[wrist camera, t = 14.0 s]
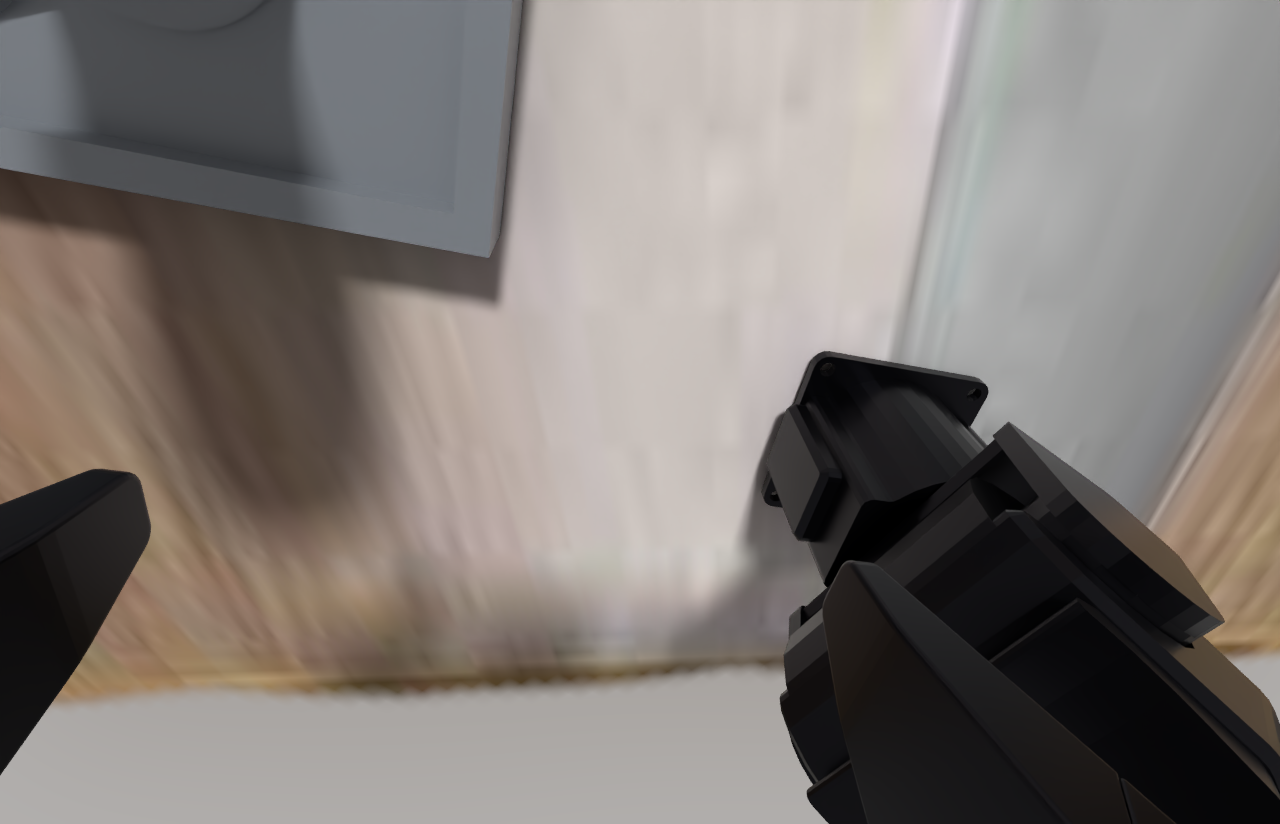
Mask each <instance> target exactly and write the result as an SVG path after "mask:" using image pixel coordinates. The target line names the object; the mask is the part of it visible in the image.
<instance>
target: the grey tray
mask: <svg viewBox="0 0 1280 824" xmlns="http://www.w3.org/2000/svg"><path fill="white" fill-rule="evenodd" d="M522 4H523V0H264V2H263V3H262V4H261V5H259V6H258V7H257V8H256V9H255V10H254V11H252V12H251V13H249V14H248V15H246V16H245V17H243V18H241V19H240V20H238V21H235V22H233V23H231V24H228V25H226V26H223V27H220V28H216V29H212V30H207V31H197V32H185V31H174V30H167V29H162V28H157V27H153V26H149V25H146V24H142V23H139V22H136V21H132V20H129V19H126V18H124V17H121V16H118V15H115V14H112V13H109V12H106V11H103V10H100V9H95V8H84V7H77V8H63V9H59V10H55V11H51V12H47V13H43V14H39V15H35V16H32V17H29V18H25V19H22V20H19V21H15V22H12V23H9V24H5V25H2V26H0V168H3V169H8V170H13V171H19V172H24V173H30V174H35V175H41V176H46V177H51V178H57V179H62V180H68V181H73V182H79V183H84V184H89V185H95V186H100V187H106V188H111V189H117V190H122V191H127V192H133V193H138V194H144V195H149V196H155V197H160V198H165V199H171V200H176V201H182V202H187V203H193V204H198V205H203V206H209V207H214V208H220V209H225V210H231V211H236V212H241V213H247V214H252V215H258V216H263V217H268V218H274V219H279V220H285V221H290V222H296V223H301V224H306V225H312V226H317V227H323V228H328V229H334V230H339V231H344V232H350V233H355V234H361V235H366V236H372V237H377V238H382V239H388V240H393V241H399V242H404V243H410V244H415V245H420V246H426V247H431V248H437V249H442V250H448V251H453V252H458V253H464V254H469V255H475V256H480V257H486V258H489V257H490V255H491V253H492V250H493V248H494V246H495V244H496V242H497V240H498V238H499V236H500V228H501V218H502V208H503V198H504V188H505V177H506V167H507V157H508V147H509V137H510V126H511V116H512V106H513V96H514V86H515V75H516V65H517V55H518V45H519V35H520V24H521V14H522Z"/></svg>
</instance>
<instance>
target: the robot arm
mask: <svg viewBox="0 0 1280 824" xmlns="http://www.w3.org/2000/svg"><path fill="white" fill-rule="evenodd" d="M826 363H832V365H831V367H830V368H829V369H828V370H826V371H821V367H822V366H823V365H825V364H826ZM972 389H975V391H974V392H973V393H972V394H970V395H967V394H968V393H969V391H971V390H972ZM987 395H988V387H987V386H986V385H985V384H984V383H983V382H982V381H981V380H980V379H978V378H976V377H972V376H966V375H960V374H955V373H949V372H943V371H938V370H932V369H926V368H921V367H915V366H909V365H904V364H898V363H892V362H887V361H881V360H875V359H870V358H864V357H858V356H853V355H847V354H841V353H836V352H830V351H824V352H821V353H818V354H817V355H816V356H815V357H814V358H813V359H812V361H811V363H810V365H809V368H808V370H807V373H806V375H805V378H804V381H803V383H802V386H801V388H800V391H799V394H798V396H797V399H796V401H795V404H792V405H791V406H790V407H789V408H787V410H786V412H785V415H784V418H783V420H782V423H781V426H780V428H779V431H778V433H777V436H776V439H775V441H774V444H773V446H772V449H771V452H770V454H769V457H768V460H767V467H768V469H769V471H768V474H767V476H766V479H765V481H764V484H763V487H762V491H761V492H762V495H763V498H764V501H765V503H767V504H768V505H770V506H775V507H782V508H783V509H784V512H785V514H786V517H787V519H788V522H789V525H790V527H791V530H792V533H793V534H794V536H795V537H796V538H797V540H798V541H806V542H808V545H809V547H810V550H811V552H812V555H813V557H814V560H815V562H816V565H817V567H818V570H819V572H820V575H821V577H822V580H823V582H824V584H825V586H826V587H828V588H826V589H825V590H824V591H823V592H822V593H821V594H820V595H819V596H817V597H816V598H815V599H814V600H813V601H812V602H811V603H809V604H808V605H807V606H806V607H805V606H801V607H800V608H799V609H797V610H796V611H795V612H794V613H793V614H792V615H791V616H790V618H789V641H788V644H787V647H786V650H785V653H784V666H785V678H786V686H787V690H786V691H785V692H783V693H782V694H781V696H780V705H781V711H782V714H783V717H784V720H785V723H786V725H787V728H788V731H789V734H790V738H791V742H792V744H793V747H794V749H795V752H796V754H797V757H798V759H799V761H800V763H801V765H802V767H803V769H804V770H805V772H806V774H807V776H808V777H809V779H810V781H811V782H812V783H813V786H811V787H810V788H809V789H808V790H807V797H808V800H809V802H810V803H811V805H813V807H814V808H815V809H816V810H817V811H818V812H819V814H820V815H821V816H822V817H823V818H824V819H825V820H826V821H827V822H828V823H829V824H1280V723H1279V720H1278V718H1277V715H1276V712H1275V710H1274V708H1273V707H1272V705H1271V703H1270V701H1269V699H1267V697H1266V696H1265V695H1264V694H1263V693H1262V692H1261V690H1260V689H1259V688H1258V687H1257V686H1256V685H1254V684H1253V683H1252V682H1251V681H1250V680H1249V679H1248V678H1247V677H1246V676H1245V675H1244V674H1243V673H1241V672H1240V671H1239V670H1238V669H1237V668H1236V667H1235V666H1234V665H1233V664H1232V663H1231V662H1230V661H1229V660H1228V659H1227V658H1226V657H1225V656H1224V655H1223V654H1222V653H1220V652H1219V651H1218V650H1217V649H1216V648H1215V647H1214V646H1213V645H1212V644H1211V643H1210V642H1209V641H1208V640H1207V639H1206V638H1204V637H1203V635H1205V634H1207V633H1208V632H1210V631H1211V630H1213V629H1215V628H1216V627H1218V626H1220V625H1221V624H1223V623H1224V622H1225V621H1224V618H1223V617H1222V615H1221V614H1220V612H1219V611H1218V610H1217V608H1216V607H1215V605H1214V604H1213V603H1212V601H1211V600H1210V598H1209V597H1208V596H1207V594H1206V593H1205V591H1204V590H1203V589H1202V587H1201V586H1200V584H1199V583H1198V582H1197V580H1196V579H1195V577H1194V576H1193V575H1192V573H1191V572H1190V570H1189V569H1188V568H1187V566H1186V565H1185V563H1184V562H1183V561H1182V559H1181V558H1180V557H1179V556H1178V555H1177V554H1176V553H1175V552H1174V551H1173V550H1172V549H1171V548H1170V547H1169V546H1168V545H1166V544H1165V543H1164V542H1163V541H1162V540H1161V539H1160V538H1158V537H1157V536H1156V535H1155V534H1154V533H1153V532H1152V531H1150V530H1149V529H1148V528H1147V527H1146V526H1145V525H1144V524H1142V523H1141V522H1140V521H1139V520H1138V519H1137V518H1136V517H1134V516H1133V515H1132V514H1131V513H1130V512H1129V511H1128V510H1126V509H1125V508H1124V507H1123V506H1122V505H1121V504H1120V503H1118V502H1117V501H1116V500H1115V499H1114V498H1113V497H1111V496H1110V495H1109V494H1108V493H1106V492H1105V491H1104V490H1102V489H1101V488H1100V487H1098V486H1097V485H1095V484H1094V483H1093V482H1091V481H1090V480H1089V479H1087V478H1086V477H1084V476H1083V475H1082V474H1080V473H1079V472H1078V471H1076V470H1075V469H1073V468H1072V467H1071V466H1069V465H1068V464H1067V463H1065V462H1064V461H1062V460H1061V459H1060V458H1058V457H1057V456H1056V455H1054V454H1053V453H1051V452H1050V451H1049V450H1047V449H1046V448H1045V447H1043V446H1042V445H1040V444H1039V443H1038V442H1036V441H1035V440H1034V439H1032V438H1031V437H1029V436H1028V435H1027V434H1025V433H1024V432H1023V431H1021V430H1020V429H1018V428H1017V427H1016V426H1014V425H1013V424H1012V423H1010V422H1008V423H1006V424H1005V425H1004V426H1003V427H1002V428H1001V429H1000V430H999V431H997V432H996V433H995V434H994V435H993V437H994V438H995V440H994V441H992V442H991V443H990V444H989V445H988V446H987V445H986V444H985V442H984V441H983V440H982V439H981V438H980V437H979V436H978V435H977V434H976V433H975V432H974V431H973V429H972V428H971V427H970V426H971V424H972V423H973V421H974V419H975V417H976V416H977V414H978V412H979V410H980V408H981V407H982V405H983V403H984V401H985V400H986V398H987ZM775 491H777V493H778V494H776V495H771V494H772V493H773V492H775ZM150 533H151V523H150V519H149V515H148V510H147V506H146V502H145V498H144V493H143V489H142V485H141V482H140V480H139V478H138V477H137V476H136V475H135V474H132V473H130V472H124V471H116V470H107V469H92V470H89V471H86V472H83V473H81V474H78V475H75V476H73V477H70V478H68V479H65V480H62V481H60V482H57V483H55V484H52V485H50V486H47V487H44V488H42V489H39V490H37V491H34V492H31V493H29V494H26V495H24V496H21V497H19V498H16V499H13V500H11V501H8V502H6V503H3V504H0V775H1V774H2V772H3V771H4V769H5V768H6V767H7V765H8V764H9V762H10V761H11V760H12V758H13V757H14V755H15V754H16V752H17V751H18V750H19V748H20V746H21V745H22V744H23V743H24V741H25V740H26V738H27V737H28V736H29V734H30V733H31V731H32V730H33V729H34V727H35V726H36V724H37V723H38V722H39V720H40V719H41V717H42V716H43V714H44V713H45V712H46V710H47V709H48V707H49V706H50V705H51V703H52V702H53V700H54V699H55V698H56V696H57V695H58V693H59V692H60V691H61V689H62V688H63V686H64V685H65V684H66V682H67V681H68V679H69V678H70V676H71V675H72V673H73V672H74V670H75V669H76V667H77V666H78V664H79V663H80V661H81V660H82V658H83V656H84V655H85V653H86V652H87V650H88V648H89V647H90V645H91V643H92V642H93V640H94V638H95V636H96V635H97V633H98V631H99V629H100V627H101V626H102V624H103V622H104V620H105V619H106V617H107V615H108V613H109V611H110V610H111V608H112V606H113V604H114V603H115V601H116V599H117V597H118V595H119V594H120V592H121V590H122V588H123V587H124V585H125V583H126V581H127V579H128V578H129V576H130V574H131V572H132V571H133V569H134V567H135V565H136V563H137V562H138V560H139V558H140V556H141V555H142V553H143V551H144V549H145V547H146V545H147V543H148V541H149V538H150Z"/></svg>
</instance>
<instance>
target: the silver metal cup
mask: <svg viewBox="0 0 1280 824" xmlns="http://www.w3.org/2000/svg"><path fill="white" fill-rule="evenodd" d="M263 2H264V0H0V26H2V25H5V24H9V23H12V22H15V21H19V20H22V19H25V18H29V17H32V16H35V15H39V14H43V13H47V12H51V11H55V10H59V9H63V8H77V7H84V8H95V9H100V10H103V11H106V12H109V13H112V14H115V15H118V16H121V17H124V18H126V19H129V20H132V21H136V22H139V23H142V24H146V25H149V26H153V27H157V28H162V29H167V30H174V31H185V32H197V31H207V30H212V29H216V28H220V27H223V26H226V25H228V24H231V23H233V22H235V21H238V20H240V19H241V18H243V17H245V16H246V15H248V14H249V13H251V12H252V11H254V10H255V9H256V8H257V7H258V6H259V5H261V4H262V3H263Z"/></svg>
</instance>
